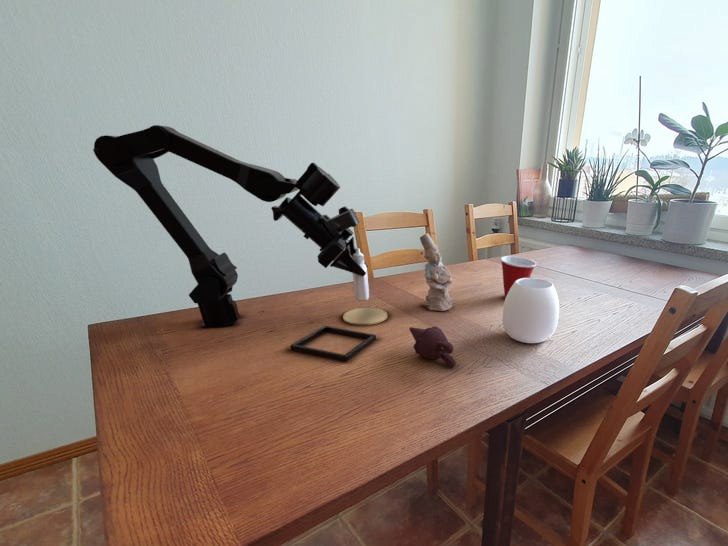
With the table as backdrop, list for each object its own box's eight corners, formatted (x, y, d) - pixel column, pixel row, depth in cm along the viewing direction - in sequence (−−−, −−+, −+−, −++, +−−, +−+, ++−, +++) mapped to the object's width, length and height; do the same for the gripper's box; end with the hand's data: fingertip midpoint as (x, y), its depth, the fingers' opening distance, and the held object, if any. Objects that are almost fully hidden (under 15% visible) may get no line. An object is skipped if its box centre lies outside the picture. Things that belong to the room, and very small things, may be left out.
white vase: (565, 337, 92) (574, 284, 85) (533, 354, 83) (541, 296, 76) (522, 321, 99) (528, 271, 93) (489, 335, 90) (493, 281, 84)
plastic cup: (534, 305, 111) (539, 265, 105) (497, 303, 111) (501, 263, 105) (530, 293, 121) (534, 256, 115) (497, 291, 120) (499, 254, 115)
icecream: (392, 322, 78) (436, 354, 70) (420, 307, 82) (465, 336, 73) (399, 348, 83) (441, 380, 74) (426, 332, 86) (468, 362, 78)
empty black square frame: (291, 350, 79) (290, 345, 78) (325, 330, 88) (325, 325, 88) (346, 361, 75) (345, 356, 75) (376, 339, 85) (375, 334, 85)
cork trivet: (343, 326, 90) (343, 325, 90) (343, 310, 99) (342, 308, 99) (389, 323, 94) (389, 321, 93) (385, 308, 103) (385, 306, 102)
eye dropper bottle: (348, 299, 91) (342, 249, 85) (359, 293, 96) (355, 245, 90) (364, 302, 90) (360, 251, 84) (375, 295, 95) (371, 247, 89)
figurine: (416, 304, 106) (414, 231, 97) (441, 299, 111) (441, 229, 102) (434, 314, 100) (434, 238, 91) (459, 308, 105) (461, 235, 96)
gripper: (326, 199, 73) (387, 257, 80) (339, 191, 89) (389, 240, 96) (290, 239, 75) (353, 292, 82) (309, 224, 91) (360, 269, 98)
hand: (365, 271), depth 90 cm, fingers closed on eye dropper bottle, 5 cm apart
